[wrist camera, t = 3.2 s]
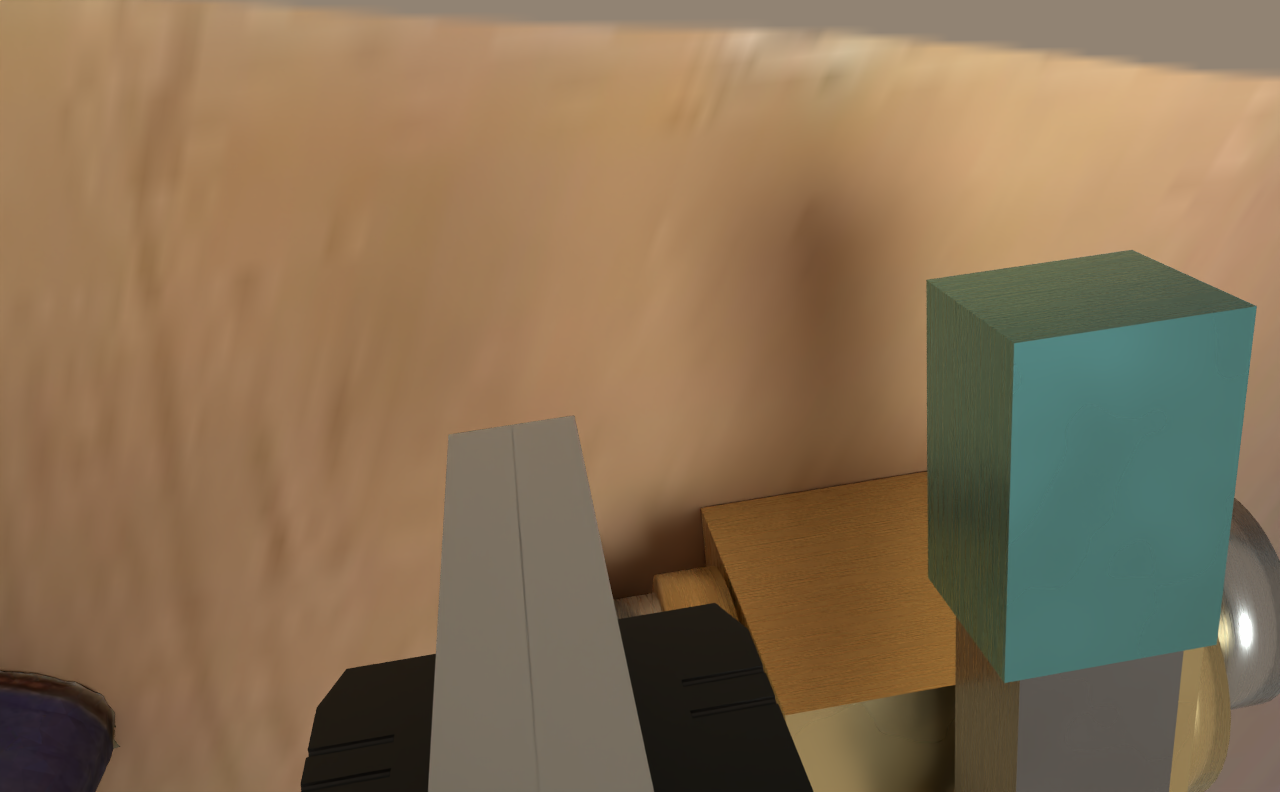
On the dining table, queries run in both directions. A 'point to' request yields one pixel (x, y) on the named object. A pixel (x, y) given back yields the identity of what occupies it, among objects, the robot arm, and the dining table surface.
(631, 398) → the dining table surface
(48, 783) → the flask
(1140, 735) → the lever
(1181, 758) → the pipe valve
